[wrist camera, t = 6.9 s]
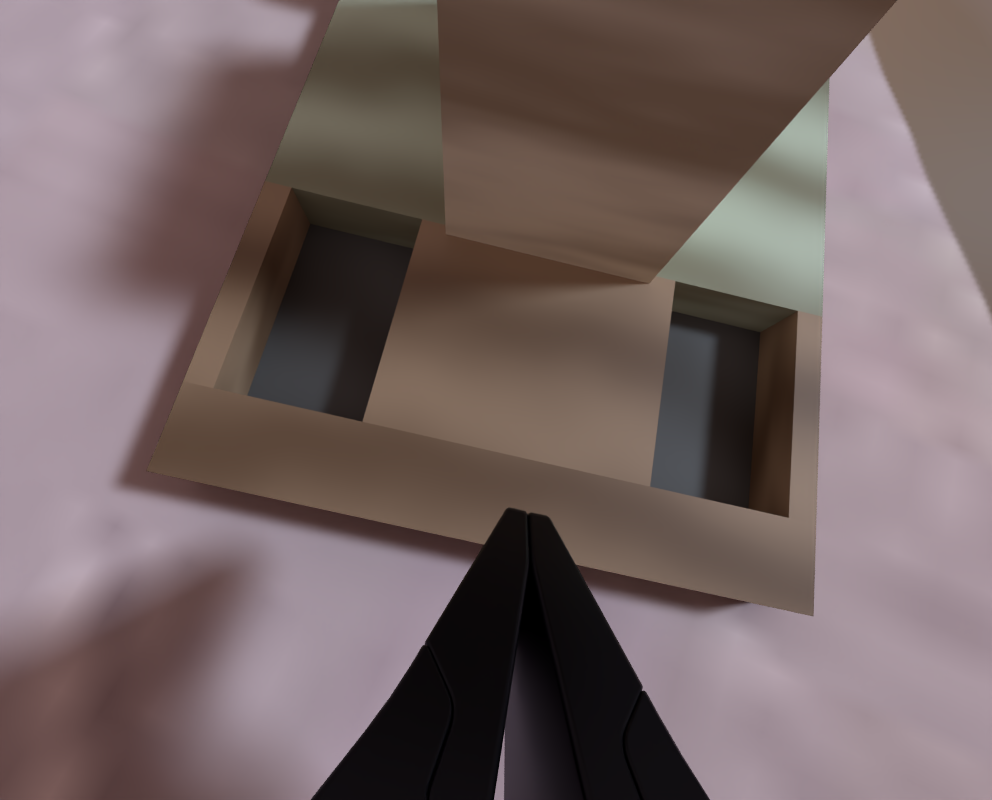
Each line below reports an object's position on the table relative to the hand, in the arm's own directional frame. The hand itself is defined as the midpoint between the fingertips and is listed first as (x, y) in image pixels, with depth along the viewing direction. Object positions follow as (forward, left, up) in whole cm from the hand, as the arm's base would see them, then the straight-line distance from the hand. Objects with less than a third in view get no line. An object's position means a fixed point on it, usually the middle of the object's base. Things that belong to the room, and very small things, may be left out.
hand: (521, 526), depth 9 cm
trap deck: (+7, +9, -8) cm, 14 cm away
